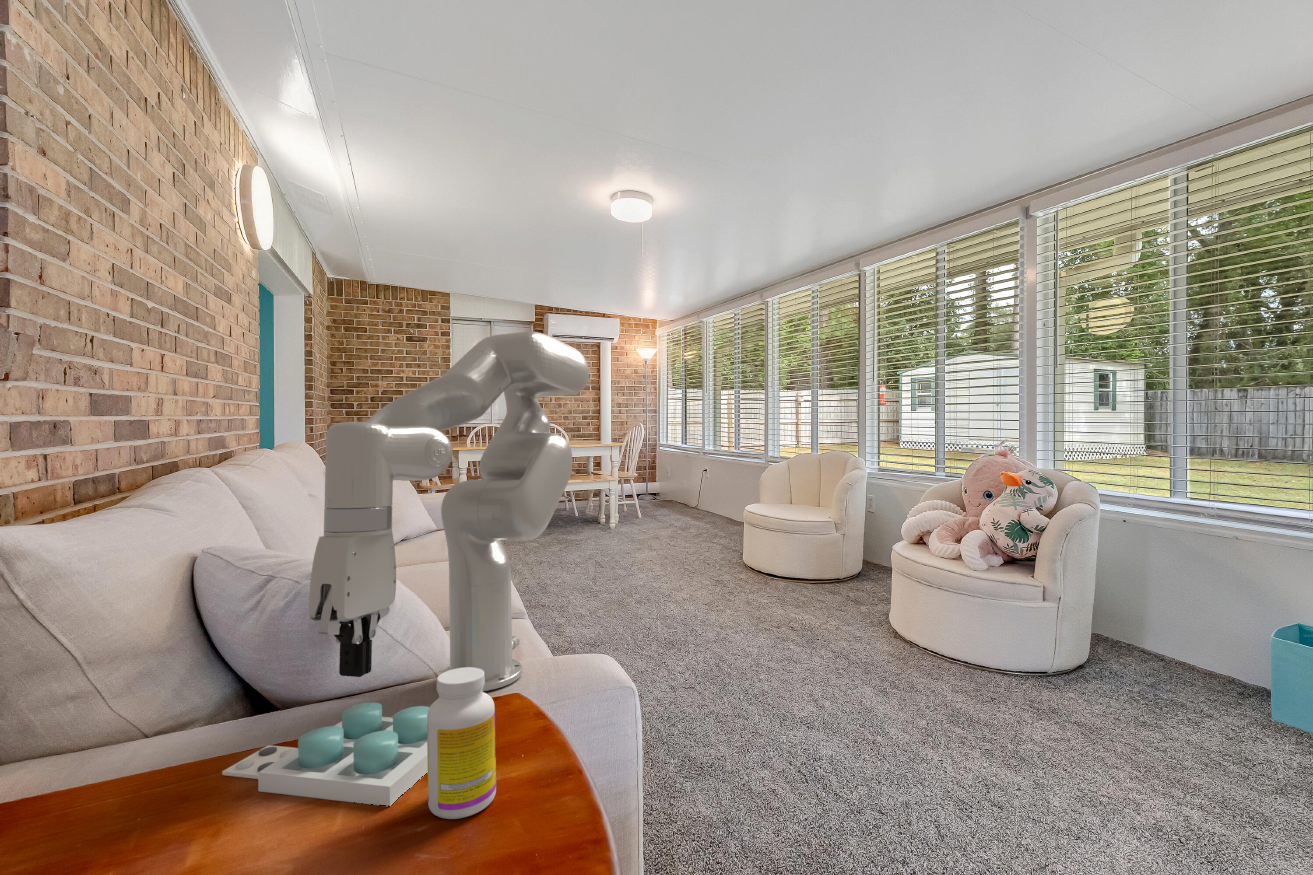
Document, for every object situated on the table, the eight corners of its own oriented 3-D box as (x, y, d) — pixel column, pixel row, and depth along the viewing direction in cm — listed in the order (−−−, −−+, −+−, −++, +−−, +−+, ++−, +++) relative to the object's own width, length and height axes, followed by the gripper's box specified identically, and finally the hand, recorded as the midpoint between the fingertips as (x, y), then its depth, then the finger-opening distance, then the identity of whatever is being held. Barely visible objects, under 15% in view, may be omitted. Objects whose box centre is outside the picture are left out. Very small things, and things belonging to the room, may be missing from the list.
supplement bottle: (509, 799, 60) (507, 673, 60) (448, 831, 55) (446, 693, 55) (475, 776, 64) (473, 658, 64) (416, 803, 59) (414, 676, 60)
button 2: (359, 720, 74) (359, 701, 74) (389, 723, 73) (389, 703, 73) (333, 737, 70) (333, 716, 70) (365, 740, 69) (365, 719, 69)
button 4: (408, 725, 72) (408, 704, 73) (440, 727, 72) (439, 707, 72) (384, 742, 68) (384, 720, 68) (418, 745, 67) (417, 723, 67)
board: (352, 729, 76) (352, 714, 76) (463, 739, 72) (463, 723, 73) (258, 791, 62) (258, 772, 62) (390, 806, 59) (389, 786, 59)
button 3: (372, 751, 66) (372, 729, 66) (406, 754, 65) (406, 732, 65) (344, 772, 62) (343, 748, 62) (380, 776, 61) (380, 751, 61)
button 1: (319, 746, 68) (319, 724, 68) (352, 749, 67) (352, 727, 67) (288, 766, 63) (288, 743, 63) (323, 769, 62) (322, 746, 62)
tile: (268, 748, 71) (268, 743, 71) (309, 752, 70) (309, 747, 70) (222, 774, 66) (222, 769, 66) (266, 779, 64) (266, 774, 64)
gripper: (373, 517, 80) (370, 653, 79) (282, 527, 65) (277, 694, 64) (422, 517, 78) (420, 656, 77) (340, 528, 64) (335, 699, 63)
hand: (355, 673), depth 71 cm, fingers closed
